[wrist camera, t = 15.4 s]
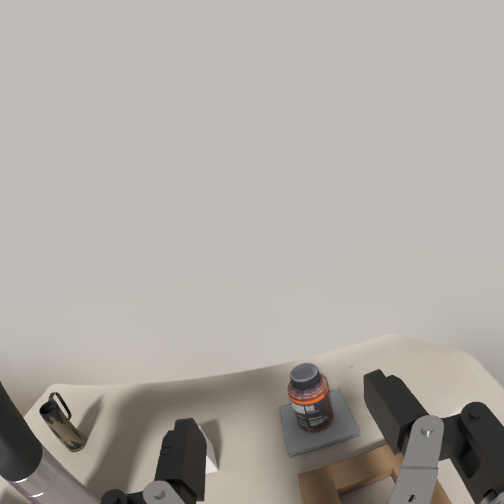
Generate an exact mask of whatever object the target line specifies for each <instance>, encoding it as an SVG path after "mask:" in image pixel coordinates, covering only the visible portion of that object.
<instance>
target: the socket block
mask: <svg viewBox="0 0 504 504" xmlns="http://www.w3.org/2000/svg"><path fill="white" fill-rule="evenodd" d="M403 460H404V456H403V454H402V453H399V454H397V455H394V454H393V452H392V450H391V448H390V447H389V445H388V444H386V445H384V446H382V447H379V448H377V449H375V450H372V451H370V452H367V453H365V454H362V455H359V456H357V457H354V458H351V459H348V460H346V461H343V462H340V463H337V464H334V465H330V466H327V467H324V468H320V469H317V470H313V471H310V472H306V473H302V474H298V479H299V484H300V488H301V493H302V498H303V502H304V504H341V502H340V499H339V496H338V495H341V494H344V493H347V492H350V491H353V490H356V489H359V488H362V487H364V486H367V485H369V484H372V483H374V482H377V481H379V480H382V479H384V478H386V477H389V476H392V478H393V480H394V482H395V484H396V481H397V479H398V476H399V473H400V469H401V466H402V463H403ZM430 504H452V503H451V501H450V499H449V498H448V496H447V494H446V493H445V491H444V489H443V488H442V486H441V484H440V483H439V481H438V479H436V483H435V487H434V491H433V495H432V498H431V501H430Z"/></svg>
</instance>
